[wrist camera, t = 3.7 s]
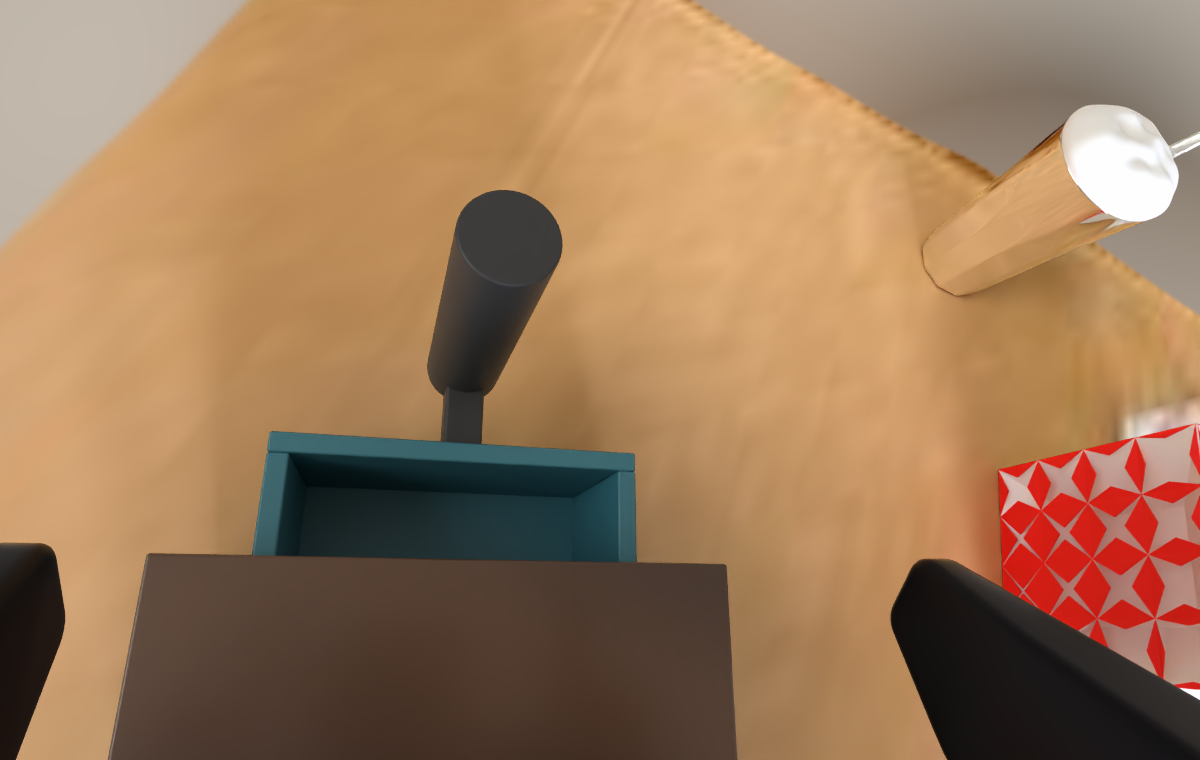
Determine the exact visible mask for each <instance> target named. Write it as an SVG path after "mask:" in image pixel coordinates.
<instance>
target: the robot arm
mask: <svg viewBox="0 0 1200 760" xmlns="http://www.w3.org/2000/svg"><path fill="white" fill-rule="evenodd" d="M64 625H65V609H64V603H63V597H62V590H61V584H60V578H59V572H58V565H57V559H56V555H55V553H54V551H53V549H52V548H51V547H49V546H48V545H46V544H42V543H0V760H16V758H17V755H18V752H19V750H20V747H21V745H22V742H23V739H24V737H25V734H26V731H27V729H28V726H29V724H30V721H31V718H32V716H33V713H34V710H35V708H36V705H37V703H38V700H39V697H40V695H41V692H42V689H43V687H44V684H45V682H46V679H47V676H48V674H49V671H50V669H51V666H52V663H53V661H54V658H55V655H56V653H57V650H58V648H59V645H60V642H61V639H62V635H63V631H64ZM891 626H892V630H893V633H894V635H895V637H896V640H897V642H898V645H899V647H900V650H901V652H902V654H903V657H904V659H905V662H906V664H907V667H908V669H909V671H910V674H911V676H912V679H913V681H914V684H915V686H916V689H917V691H918V693H919V696H920V698H921V701H922V703H923V706H924V708H925V710H926V713H927V715H928V718H929V720H930V723H931V725H932V728H933V730H934V732H935V735H936V737H937V739H938V741H939V744H940V746H941V748H942V751H943V753H944V755H945V757H946V759H947V760H1200V700H1199V699H1198V698H1196V697H1194V696H1192V695H1191V694H1189V693H1187V692H1185V691H1184V690H1182V689H1180V688H1178V687H1176V686H1175V685H1173V684H1171V683H1169V682H1168V681H1166V680H1164V679H1162V678H1161V677H1159V676H1157V675H1155V674H1153V673H1152V672H1150V671H1148V670H1146V669H1145V668H1143V667H1141V666H1139V665H1138V664H1136V663H1134V662H1132V661H1131V660H1129V659H1127V658H1125V657H1123V656H1122V655H1120V654H1118V653H1116V652H1115V651H1113V650H1111V649H1109V648H1108V647H1106V646H1104V645H1102V644H1101V643H1099V642H1097V641H1095V640H1093V639H1092V638H1090V637H1088V636H1086V635H1085V634H1083V633H1081V632H1079V631H1078V630H1076V629H1074V628H1072V627H1071V626H1069V625H1067V624H1065V623H1063V622H1062V621H1060V620H1058V619H1056V618H1055V617H1053V616H1051V615H1049V614H1048V613H1046V612H1044V611H1042V610H1041V609H1039V608H1037V607H1035V606H1033V605H1032V604H1030V603H1028V602H1026V601H1025V600H1023V599H1021V598H1019V597H1018V596H1016V595H1014V594H1012V593H1010V592H1009V591H1007V590H1005V589H1003V588H1002V587H1000V586H998V585H996V584H995V583H993V582H991V581H989V580H988V579H986V578H984V577H982V576H980V575H979V574H977V573H975V572H973V571H972V570H970V569H968V568H966V567H965V566H963V565H961V564H959V563H957V562H955V561H953V560H949V559H922V560H919V561H918V562H916V563H915V564H914V565H913V566H912V568H911V570H910V572H909V574H908V576H907V578H906V580H905V582H904V584H903V586H902V588H901V590H900V592H899V594H898V596H897V598H896V600H895V602H894V604H893V607H892V610H891Z"/></svg>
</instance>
